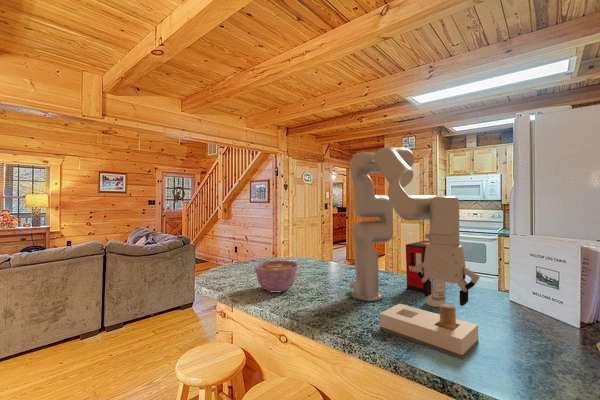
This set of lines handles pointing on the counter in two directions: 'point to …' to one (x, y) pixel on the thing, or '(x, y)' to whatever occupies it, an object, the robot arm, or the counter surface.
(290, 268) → the bowl of food
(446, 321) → the oak pin
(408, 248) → the cleaning product box
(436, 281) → the bath foam
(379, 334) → the counter surface
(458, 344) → the hole block
